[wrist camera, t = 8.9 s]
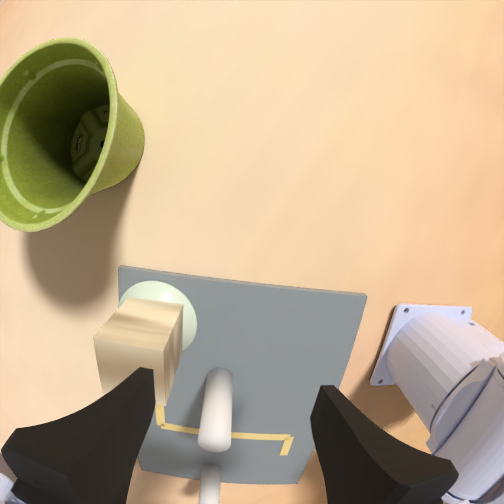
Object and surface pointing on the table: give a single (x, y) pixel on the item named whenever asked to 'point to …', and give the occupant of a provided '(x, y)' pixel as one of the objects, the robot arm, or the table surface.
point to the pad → (166, 294)
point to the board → (247, 379)
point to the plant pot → (61, 133)
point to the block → (141, 344)
